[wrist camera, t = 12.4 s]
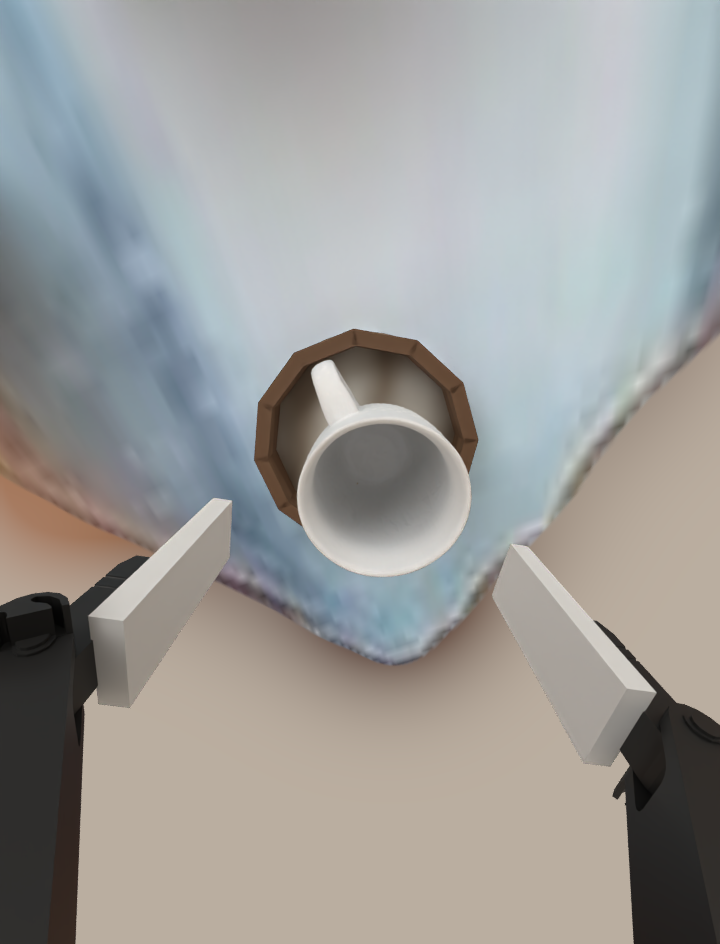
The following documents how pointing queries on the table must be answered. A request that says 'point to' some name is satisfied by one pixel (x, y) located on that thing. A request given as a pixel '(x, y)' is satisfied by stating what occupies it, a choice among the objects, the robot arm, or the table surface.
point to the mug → (379, 485)
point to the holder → (371, 381)
